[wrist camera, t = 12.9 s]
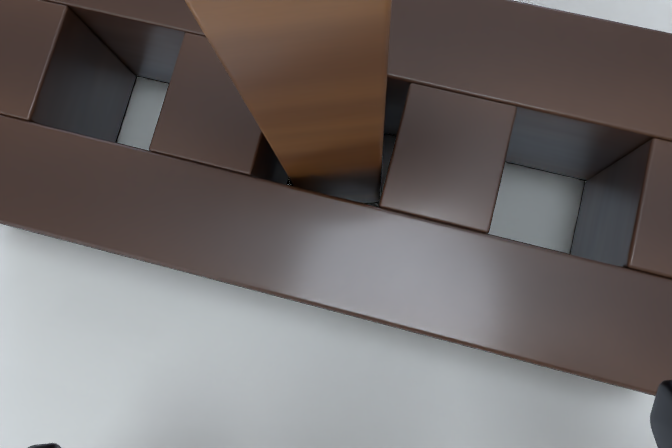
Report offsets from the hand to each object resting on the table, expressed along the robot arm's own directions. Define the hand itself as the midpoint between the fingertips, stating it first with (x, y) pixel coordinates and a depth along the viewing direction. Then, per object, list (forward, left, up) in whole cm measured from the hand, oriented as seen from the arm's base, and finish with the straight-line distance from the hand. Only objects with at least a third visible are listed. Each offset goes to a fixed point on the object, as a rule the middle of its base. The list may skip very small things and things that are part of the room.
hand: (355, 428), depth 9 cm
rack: (+6, +2, -8) cm, 10 cm away
